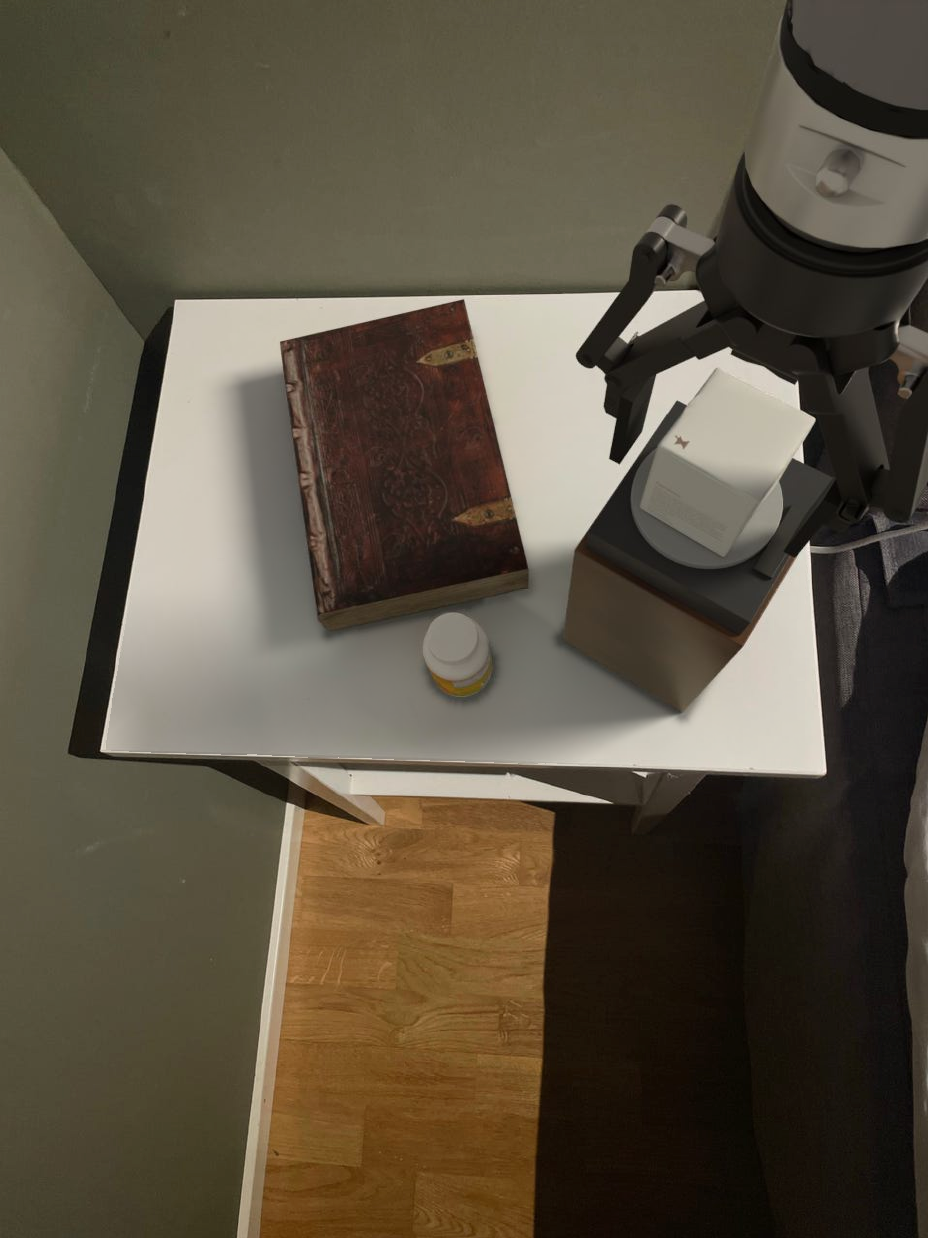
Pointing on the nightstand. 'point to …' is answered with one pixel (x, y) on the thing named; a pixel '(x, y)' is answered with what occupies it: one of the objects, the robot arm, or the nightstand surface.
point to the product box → (722, 460)
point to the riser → (647, 629)
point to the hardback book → (399, 468)
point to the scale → (691, 568)
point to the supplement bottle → (457, 654)
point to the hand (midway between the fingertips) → (710, 489)
